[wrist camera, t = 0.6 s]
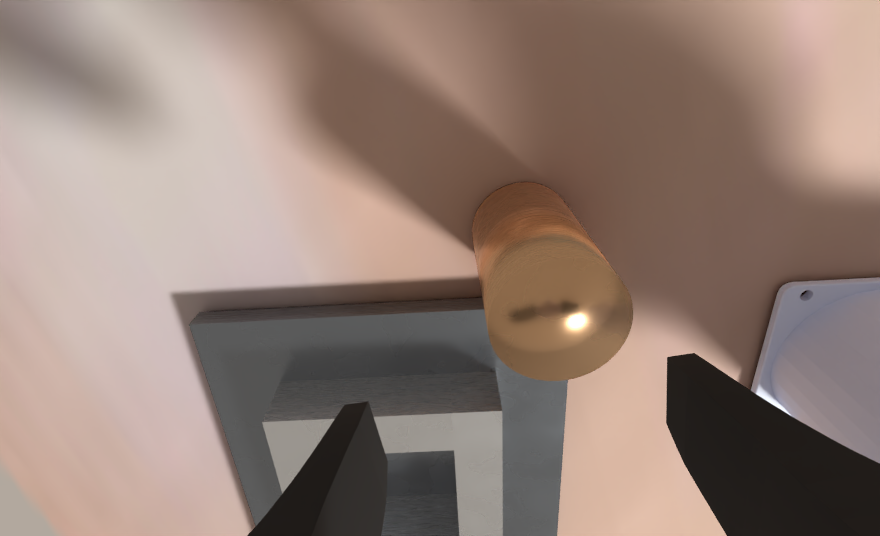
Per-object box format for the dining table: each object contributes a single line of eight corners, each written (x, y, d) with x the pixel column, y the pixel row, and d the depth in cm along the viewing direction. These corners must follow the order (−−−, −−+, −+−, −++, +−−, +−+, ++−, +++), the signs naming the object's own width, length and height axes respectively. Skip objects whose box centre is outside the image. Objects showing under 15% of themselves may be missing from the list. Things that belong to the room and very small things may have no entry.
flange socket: (567, 293, 21) (589, 339, 18) (551, 538, 28) (566, 602, 25) (199, 312, 22) (158, 360, 18) (274, 549, 29) (254, 614, 25)
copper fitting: (574, 179, 19) (641, 253, 13) (568, 271, 21) (624, 377, 15) (470, 185, 19) (486, 262, 13) (473, 276, 21) (488, 384, 15)
